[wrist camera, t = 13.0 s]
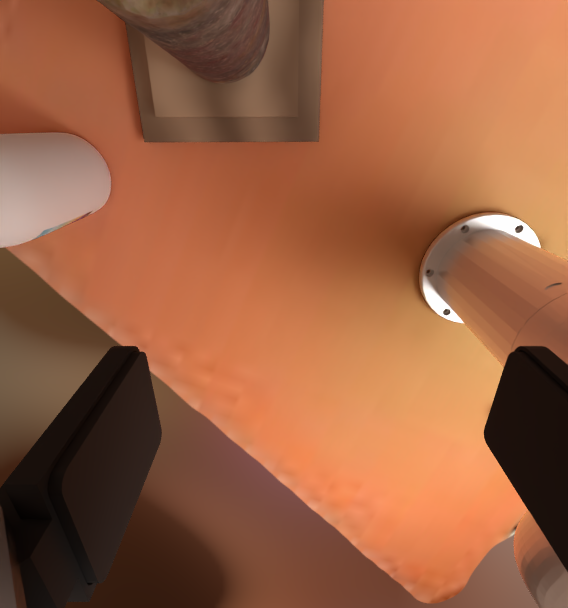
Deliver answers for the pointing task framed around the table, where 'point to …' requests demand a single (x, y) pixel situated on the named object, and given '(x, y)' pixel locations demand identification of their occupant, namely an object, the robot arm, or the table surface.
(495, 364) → the table surface
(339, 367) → the table surface
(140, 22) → the dark brown rough cylinder
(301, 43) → the plinth
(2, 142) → the milk bottle
